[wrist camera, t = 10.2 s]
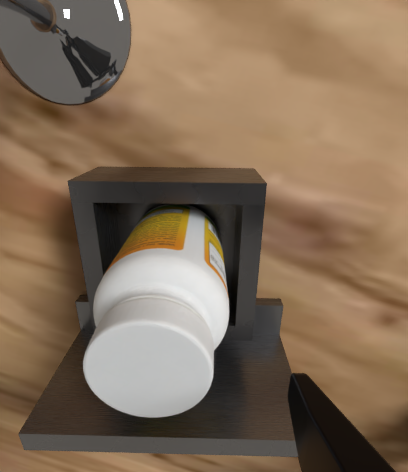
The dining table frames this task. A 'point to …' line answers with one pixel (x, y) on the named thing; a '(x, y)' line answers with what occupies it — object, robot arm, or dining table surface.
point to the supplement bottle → (160, 315)
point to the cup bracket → (225, 355)
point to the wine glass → (65, 46)
